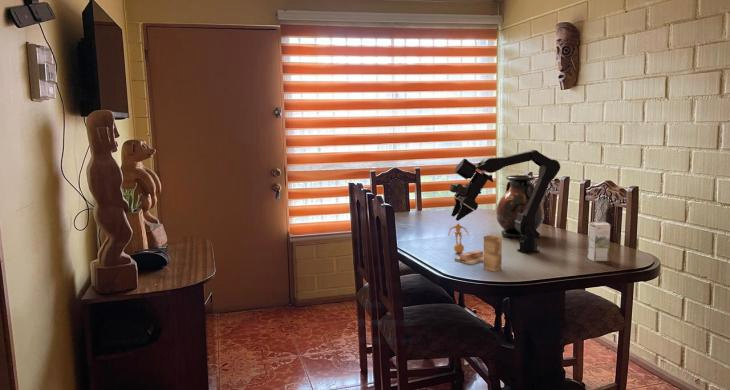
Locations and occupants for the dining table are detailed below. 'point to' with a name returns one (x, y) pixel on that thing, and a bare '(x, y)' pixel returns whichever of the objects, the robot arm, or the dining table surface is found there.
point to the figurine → (458, 246)
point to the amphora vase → (516, 204)
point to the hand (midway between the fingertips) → (454, 218)
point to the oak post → (492, 252)
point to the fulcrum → (471, 257)
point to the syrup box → (598, 241)
